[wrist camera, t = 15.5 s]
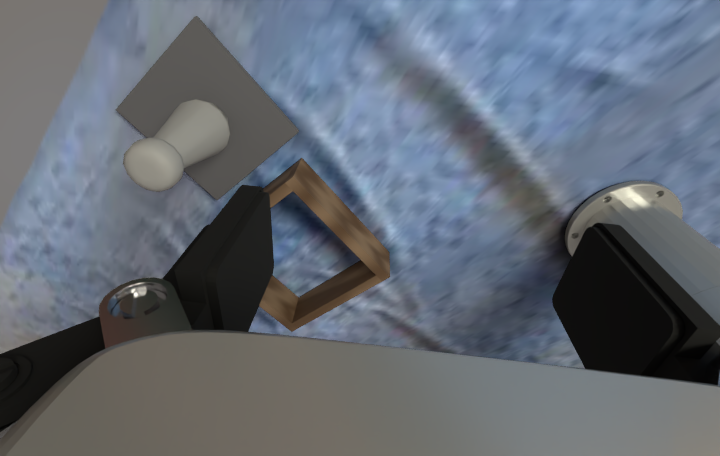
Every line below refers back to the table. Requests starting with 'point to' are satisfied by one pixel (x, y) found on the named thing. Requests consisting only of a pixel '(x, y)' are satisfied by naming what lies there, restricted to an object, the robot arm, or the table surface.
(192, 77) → the coaster
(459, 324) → the table surface
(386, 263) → the frame
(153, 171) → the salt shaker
